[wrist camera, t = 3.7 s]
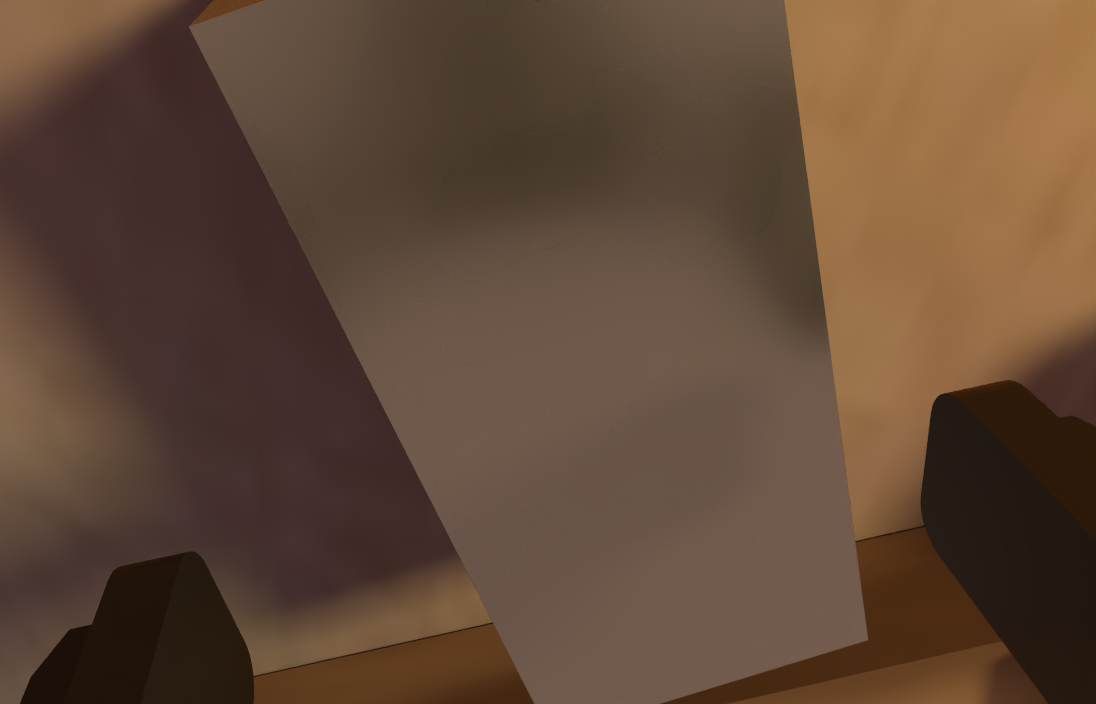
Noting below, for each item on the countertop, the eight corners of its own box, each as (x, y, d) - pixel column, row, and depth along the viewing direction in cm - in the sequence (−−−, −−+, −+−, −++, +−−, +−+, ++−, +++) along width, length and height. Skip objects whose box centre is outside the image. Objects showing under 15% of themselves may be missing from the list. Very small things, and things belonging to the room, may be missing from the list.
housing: (622, -186, 13) (761, -173, 8) (749, 421, 19) (868, 639, 14) (272, -63, 13) (188, 27, 8) (514, 496, 20) (551, 737, 15)
